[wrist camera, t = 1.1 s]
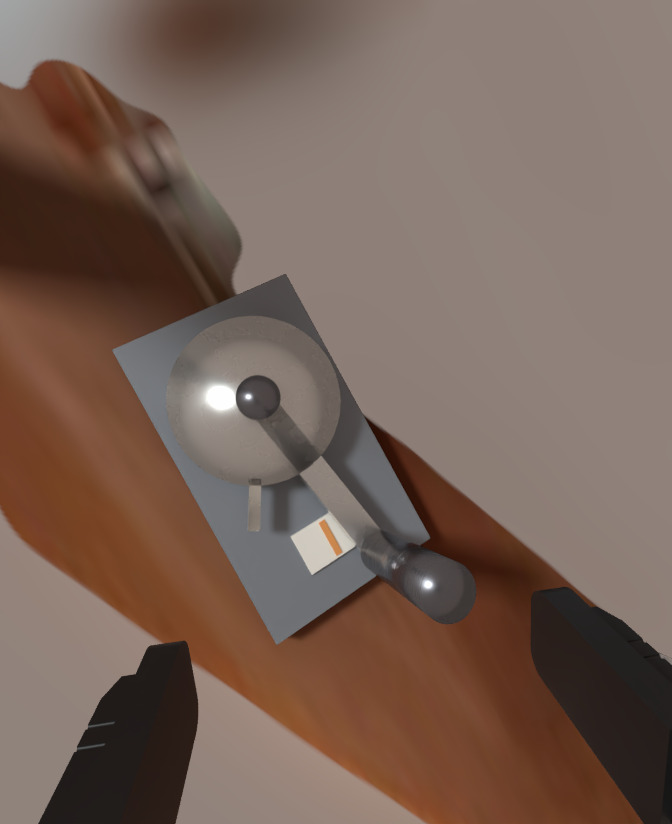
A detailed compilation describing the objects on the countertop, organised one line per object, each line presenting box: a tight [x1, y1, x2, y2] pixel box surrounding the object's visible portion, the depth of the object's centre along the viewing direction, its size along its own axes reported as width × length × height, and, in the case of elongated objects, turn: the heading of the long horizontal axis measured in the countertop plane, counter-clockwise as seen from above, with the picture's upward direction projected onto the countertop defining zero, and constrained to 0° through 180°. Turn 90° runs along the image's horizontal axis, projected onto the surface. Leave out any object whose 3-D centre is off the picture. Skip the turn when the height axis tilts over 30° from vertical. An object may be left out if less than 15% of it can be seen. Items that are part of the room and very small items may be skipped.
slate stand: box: [112, 274, 430, 645], centre depth 33 cm, size 24×14×2 cm, turn 30°
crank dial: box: [166, 316, 476, 624], centre depth 26 cm, size 18×16×12 cm
